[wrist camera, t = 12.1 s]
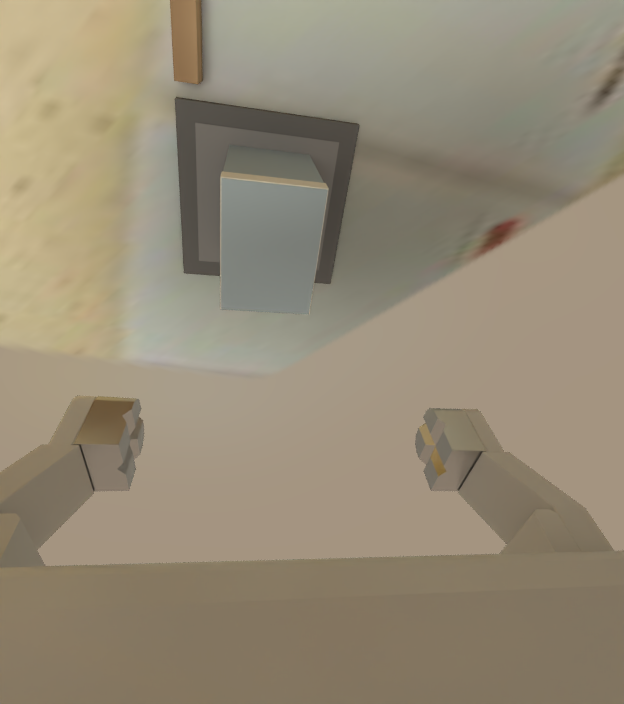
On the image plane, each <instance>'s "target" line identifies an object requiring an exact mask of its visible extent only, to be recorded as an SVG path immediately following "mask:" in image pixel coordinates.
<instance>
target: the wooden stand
mask: <svg viewBox="0 0 624 704" xmlns="http://www.w3.org/2000/svg"><path fill="white" fill-rule="evenodd" d="M170 8H171V27H172V47H173V66H174V81H180V82H187V83H193V84H199V83H200V82H202V81H203V76H202V16H201V0H170Z"/></svg>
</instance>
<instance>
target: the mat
mask: <svg viewBox="0 0 624 704" xmlns="http://www.w3.org/2000/svg"><path fill="white" fill-rule="evenodd" d="M175 109H176V128H177V148H178V167H179V187H180V206H181V226H182V245H183V265H184V273H188V274H201V275H215V276H220V176H221V172H222V171H223V170H224V166H225V161H226V157H227V153H228V149H229V145H236V146H244V147H252V148H260V149H268V150H276V151H284V152H292V153H300V154H308V155H310V157H311V159H312V161H313V163H314V164H315V166H316V168H317V170H318V172H319V174H320V176H321V178H322V180H323V182H324V183H326V185H327V186H328V188H329V190H328V196H327V203H326V209H325V216H324V222H323V229H322V235H321V242H320V248H319V255H318V261H317V268H316V274H315V281H314V283H324V284H330V283H331V277H332V272H333V267H334V261H335V256H336V250H337V245H338V239H339V234H340V229H341V223H342V218H343V212H344V207H345V201H346V196H347V190H348V185H349V180H350V174H351V169H352V163H353V158H354V152H355V147H356V141H357V136H358V131H359V124H356V123H349V122H342V121H336V120H329V119H322V118H315V117H308V116H301V115H295V114H288V113H281V112H274V111H267V110H260V109H254V108H247V107H240V106H233V105H226V104H219V103H213V102H206V101H199V100H192V99H185V98H178V97H176V98H175Z"/></svg>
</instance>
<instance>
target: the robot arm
mask: <svg viewBox="0 0 624 704" xmlns="http://www.w3.org/2000/svg"><path fill="white" fill-rule="evenodd" d="M140 411H141V406H140V401H139V399H136V398H118V397H101V396H98V397H94V396H76V397H75V398H74V399H73V400H72V401H71V403H70V405H69V407H68V408H67V410H66V412H65V414H64V416H63V418H62V420H61V422H60V423H59V425H58V427H57V429H56V431H55V433H54V435H53V436H52V438H51V440H50V442H49V444H45V445H44V444H43V445H40V446H39V447H37V448H36V449H34V450H33V451H31V452H30V453H28V454H27V455H25V456H24V457H22V458H21V459H19V460H18V461H16V462H15V463H13V464H12V465H10V466H9V467H7V468H6V469H5V470H3V471H2V472H0V704H624V551H614V550H613V548H612V546H611V545H610V543H609V542H608V541H607V539H606V538H605V536H604V535H603V533H602V532H601V530H600V529H599V527H598V526H597V524H596V523H595V521H594V520H593V518H592V517H591V515H590V514H589V513H588V511H587V510H586V508H585V507H583V506H582V505H581V504H579V503H578V502H577V501H575V500H573V499H572V498H571V497H570V496H568V495H567V494H566V493H564V492H563V491H561V490H560V489H559V488H557V487H556V486H555V485H553V484H552V483H551V482H549V481H548V480H546V479H545V478H543V477H542V476H541V475H540V474H538V473H537V472H536V471H534V470H533V469H531V468H530V467H529V466H527V465H526V464H525V463H523V462H522V461H521V460H519V459H517V458H516V457H515V456H514V455H512V454H511V453H510V452H504V450H503V449H502V447H501V445H500V444H499V442H498V440H497V438H496V437H495V435H494V433H493V432H492V430H491V428H490V427H489V425H488V423H487V422H486V420H485V418H484V416H483V415H482V413H481V412H480V411H479V410H477V409H440V408H429V409H428V410H427V411H426V413H425V415H424V420H425V422H426V423H425V424H423V425H422V426H420V427H419V429H418V431H417V434H416V441H415V445H416V451H417V454H418V457H419V459H420V460H422V461H423V462H424V463H425V464H426V467H425V469H424V473H425V476H426V479H427V481H428V484H429V487H430V490H431V491H459V492H458V493H459V494H460V495H461V497H462V498H463V499H464V500H465V501H466V502H467V503H468V504H469V505H470V506H471V507H472V508H473V509H474V510H475V511H476V512H477V513H478V515H480V517H481V518H482V519H483V520H484V521H485V522H486V523H487V524H488V525H489V526H490V527H491V528H492V529H493V530H494V531H495V532H496V534H497V535H498V536H499V537H500V538H501V539H502V540H503V541H504V542H505V543H506V544H507V545H506V546H505V547H504V549H503V550H502V551H501V552H500V553H499V554H475V555H441V556H439V555H438V556H405V557H404V556H403V557H369V558H368V557H367V558H329V559H293V560H257V561H221V562H183V563H149V564H148V563H146V564H109V565H72V566H45V564H44V562H43V560H42V558H41V556H40V555H39V553H38V551H37V550H38V549H39V548H40V547H41V546H42V545H43V544H44V543H45V542H46V541H47V540H48V539H49V538H50V537H51V536H52V535H53V534H54V533H55V532H56V531H57V530H58V529H59V527H61V526H62V525H63V524H64V523H65V522H66V521H67V520H68V519H69V518H70V517H71V516H72V515H73V514H74V513H75V512H76V511H77V510H78V509H79V508H80V507H81V506H82V505H83V504H84V503H85V502H86V501H87V500H88V499H89V498H90V497H91V496H92V495H93V494H94V491H129V489H130V486H131V483H132V479H133V476H134V473H135V470H136V468H135V462H134V459H135V458H137V457H138V456H139V455H140V453H141V449H142V446H143V439H144V424H143V420H142V419H141V418H140V417H139V414H140Z"/></svg>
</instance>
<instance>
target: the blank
mask: <svg viewBox="0 0 624 704" xmlns="http://www.w3.org/2000/svg"><path fill="white" fill-rule="evenodd" d="M328 190H329V188H328V186H327V185H326V183H324V182H323V180H322V178H321V176H320V174H319V172H318V170H317V168H316V166H315V164H314V163H313V161H312V159H311V157H310V155H308V154H300V153H292V152H284V151H276V150H268V149H260V148H252V147H244V146H236V145H229V149H228V153H227V157H226V161H225V166H224V170H223V171H222V172H221V176H220V309H221V310H238V311H256V312H274V313H292V314H309V313H310V307H311V300H312V294H313V287H314V281H315V274H316V268H317V261H318V255H319V248H320V242H321V235H322V229H323V222H324V216H325V209H326V203H327V196H328Z"/></svg>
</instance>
